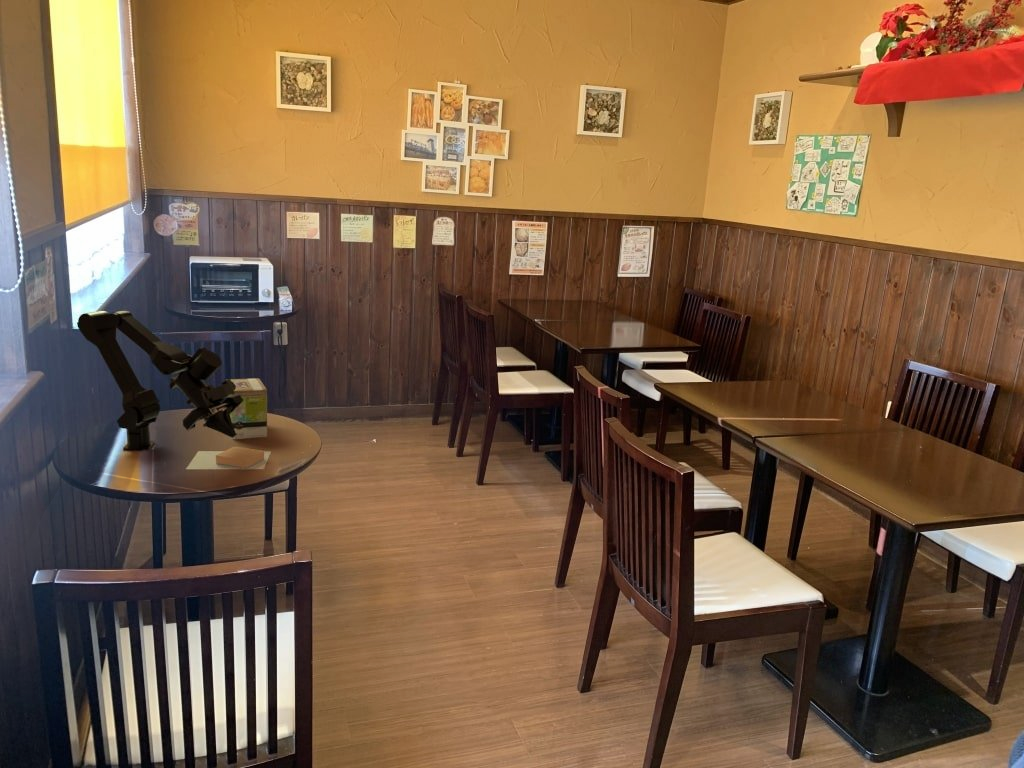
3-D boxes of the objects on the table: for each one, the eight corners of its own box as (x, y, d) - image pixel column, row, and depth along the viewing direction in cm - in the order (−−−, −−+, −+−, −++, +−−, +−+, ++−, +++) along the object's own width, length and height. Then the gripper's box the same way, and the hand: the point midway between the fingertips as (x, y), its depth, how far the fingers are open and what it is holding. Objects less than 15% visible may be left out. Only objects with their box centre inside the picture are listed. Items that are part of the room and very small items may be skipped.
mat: (198, 452, 209) (198, 451, 209) (271, 452, 213) (271, 451, 212) (185, 470, 196) (185, 469, 196) (263, 470, 199) (263, 469, 199)
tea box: (268, 437, 225) (267, 388, 221) (232, 441, 220) (230, 390, 217) (260, 423, 238) (259, 376, 234) (226, 426, 233) (224, 378, 230)
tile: (215, 455, 200) (246, 460, 198) (234, 446, 208) (264, 451, 205) (216, 464, 201) (246, 469, 198) (234, 454, 208) (264, 459, 206)
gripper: (190, 379, 191) (230, 427, 190) (236, 364, 208) (273, 409, 208) (165, 406, 195) (204, 453, 194) (212, 389, 212) (248, 433, 212)
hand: (234, 436), depth 202 cm, fingers closed
